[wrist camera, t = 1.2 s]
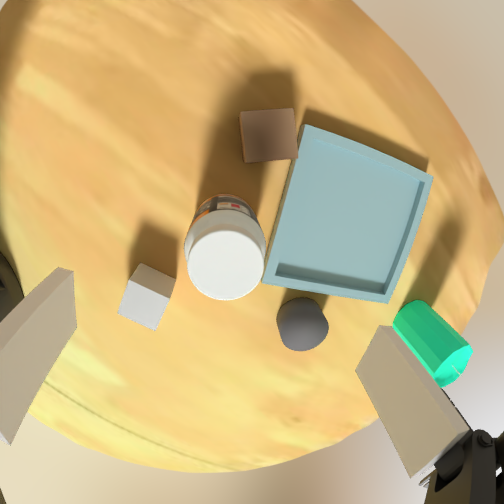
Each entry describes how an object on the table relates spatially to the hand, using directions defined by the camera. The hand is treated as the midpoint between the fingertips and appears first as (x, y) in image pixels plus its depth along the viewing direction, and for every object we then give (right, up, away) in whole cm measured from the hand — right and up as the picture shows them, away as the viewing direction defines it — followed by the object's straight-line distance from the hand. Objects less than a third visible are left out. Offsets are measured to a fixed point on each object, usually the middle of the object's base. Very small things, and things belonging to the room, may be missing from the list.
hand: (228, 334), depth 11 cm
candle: (+22, -6, +22) cm, 32 cm away
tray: (+11, +6, +16) cm, 21 cm away
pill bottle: (-2, +6, +16) cm, 17 cm away
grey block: (-9, 0, +17) cm, 19 cm away
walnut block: (+2, +13, +13) cm, 19 cm away
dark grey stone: (+6, -4, +20) cm, 21 cm away
